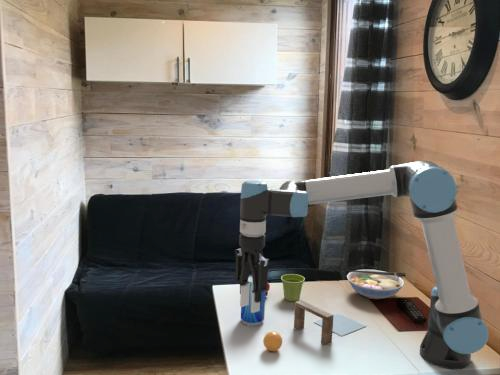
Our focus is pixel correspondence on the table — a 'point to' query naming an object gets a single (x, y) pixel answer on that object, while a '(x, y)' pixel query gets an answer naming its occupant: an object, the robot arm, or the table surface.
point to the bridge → (326, 317)
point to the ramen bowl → (375, 283)
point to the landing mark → (343, 325)
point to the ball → (272, 341)
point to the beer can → (246, 312)
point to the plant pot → (292, 286)
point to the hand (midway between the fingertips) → (249, 308)
